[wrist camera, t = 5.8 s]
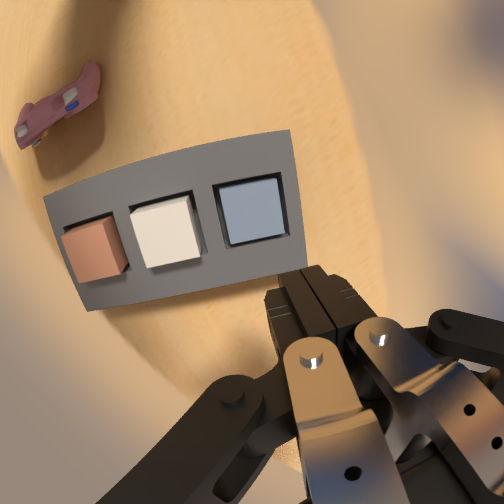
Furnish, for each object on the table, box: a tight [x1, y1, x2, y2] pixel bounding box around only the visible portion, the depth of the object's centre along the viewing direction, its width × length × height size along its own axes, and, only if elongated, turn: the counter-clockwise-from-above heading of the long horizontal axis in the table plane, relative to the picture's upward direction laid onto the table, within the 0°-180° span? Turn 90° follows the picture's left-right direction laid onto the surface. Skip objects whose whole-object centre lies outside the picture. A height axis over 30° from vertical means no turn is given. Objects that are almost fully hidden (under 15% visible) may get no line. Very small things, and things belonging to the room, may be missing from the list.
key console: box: [43, 129, 308, 311], centre depth 23 cm, size 12×22×4 cm, turn 100°
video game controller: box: [14, 60, 101, 150], centre depth 17 cm, size 10×5×7 cm, turn 106°
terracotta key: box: [61, 215, 128, 283], centre depth 21 cm, size 4×4×2 cm
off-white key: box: [130, 195, 202, 268], centre depth 21 cm, size 4×4×2 cm
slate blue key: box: [219, 176, 285, 244], centre depth 22 cm, size 4×4×2 cm
